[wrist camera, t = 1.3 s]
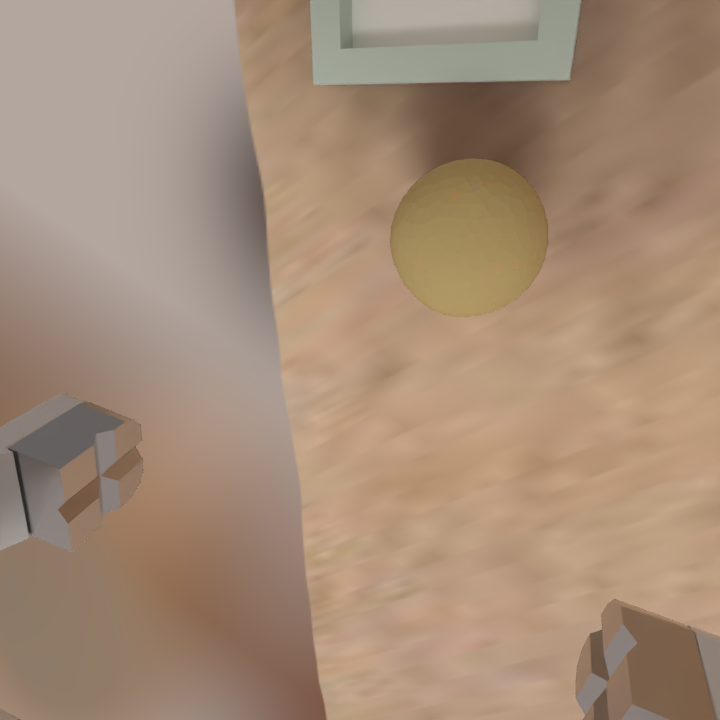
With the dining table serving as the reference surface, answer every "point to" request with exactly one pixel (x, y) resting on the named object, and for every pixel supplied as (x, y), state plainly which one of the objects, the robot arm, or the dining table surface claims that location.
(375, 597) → the dining table surface
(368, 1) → the tray
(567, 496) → the dining table surface
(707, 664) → the robot arm
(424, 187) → the light bulb
